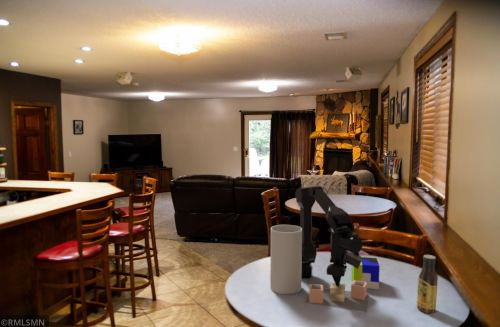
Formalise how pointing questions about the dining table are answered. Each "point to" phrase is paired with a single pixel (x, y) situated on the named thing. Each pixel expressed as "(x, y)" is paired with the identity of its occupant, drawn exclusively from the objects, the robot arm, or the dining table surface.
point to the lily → (361, 253)
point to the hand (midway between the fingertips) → (337, 285)
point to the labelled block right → (359, 290)
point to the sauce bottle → (427, 285)
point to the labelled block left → (316, 293)
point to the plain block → (337, 292)
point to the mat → (347, 304)
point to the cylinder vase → (286, 259)
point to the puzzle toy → (367, 272)
